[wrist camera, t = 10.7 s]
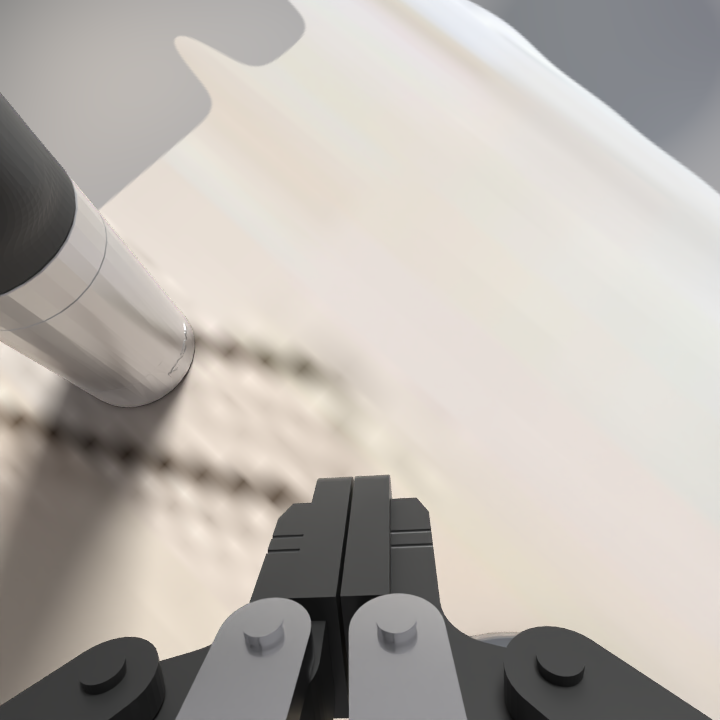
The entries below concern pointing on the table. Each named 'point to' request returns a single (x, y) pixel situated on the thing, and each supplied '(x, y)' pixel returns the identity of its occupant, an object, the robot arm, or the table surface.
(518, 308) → the table surface
